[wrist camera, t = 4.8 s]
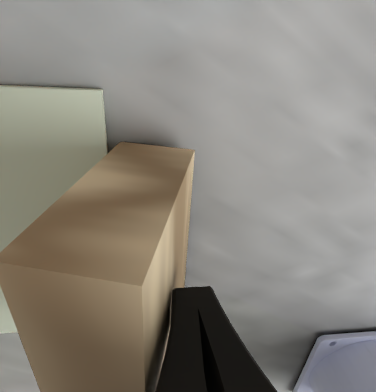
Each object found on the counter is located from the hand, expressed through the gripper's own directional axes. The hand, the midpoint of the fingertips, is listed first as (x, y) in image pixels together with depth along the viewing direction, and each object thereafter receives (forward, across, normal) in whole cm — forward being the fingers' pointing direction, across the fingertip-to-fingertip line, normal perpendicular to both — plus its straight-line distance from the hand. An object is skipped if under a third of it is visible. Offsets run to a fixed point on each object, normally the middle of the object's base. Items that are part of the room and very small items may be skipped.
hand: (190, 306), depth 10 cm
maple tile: (+4, +1, 0) cm, 4 cm away
